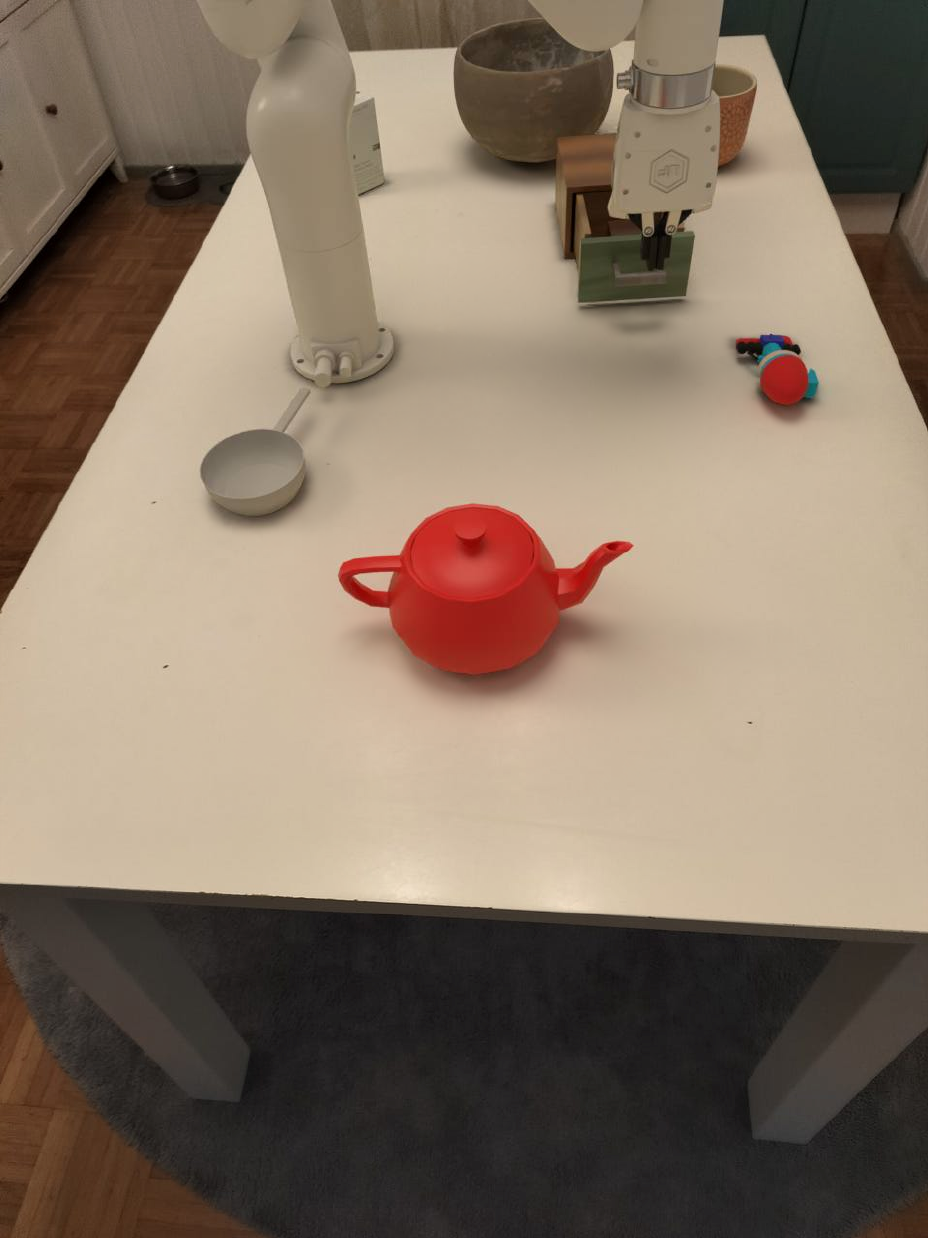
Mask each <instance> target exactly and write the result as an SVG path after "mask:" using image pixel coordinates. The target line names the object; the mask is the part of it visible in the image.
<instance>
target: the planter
mask: <svg viewBox="0 0 928 1238" xmlns="http://www.w3.org/2000/svg"><path fill="white" fill-rule="evenodd" d="M757 88H758V78H757V77H756V76H755V75H754V74H753V73H752V72H750V71H749V70H747V69H745V68H742V67H738V66H735V65H730V64H724V63H723V64H722V63H715V70H714V78H713V85H712V90H713V91H715V93H716V94H717V95H718V96H719V100H720V143H719V157H718V168H720V167H722V166H724V165H726V164H727V163H729V162H731V161H732V160H733V159H734V158H735V157H737V156H738V154H739V153H740V152H741V151H742V149H743V147H744V145H745V142H746V140H747V139H746V138H747V135H748V132H749V126H750V122H751V117H752V114H753V113H752V112H753V108H754V104H755V99H756V95H757Z"/></svg>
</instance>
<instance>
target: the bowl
mask: <svg viewBox="0 0 928 1238" xmlns="http://www.w3.org/2000/svg"><path fill="white" fill-rule="evenodd" d="M614 75H615V69H614V58H613V54H612V50H611V48H610V49H607V50H604V51H597V52H594V51H586V50H583V49H580V48H577V47H576V46H574V45H572V44H570V43H569V42H568V41H566V40H565V39H564V38H563V37H562V36H561V35H560V34H559V33H558V32H557V31H556V30H555V29H554V28H553V27H552V26H551V25H550V24H549V23H548V22H547V21H546V20H545V19H544V18H543V16H541V17H532V18H531V17H530V18H522V19H516V20H515V19H514V20H509V21H504V22H499V23H496V24H492V25H490V26H486V27H485V28H482V29H479V30H477V31H475V32H473V33H472V34H469V35H467V37H465V38H464V39H463V40H462V41H461V42H460V43H459V44H458V46H457V49H456V51H455V54H454V61H453V91H454V99H455V103H456V108H457V112H458V115H459V117H460V120H461V122H462V124H463V126H464V128H465V130H466V131H467V133H468V134H469V135H470V137H471V139H473V140H474V141H475V142H476V143H477V145H478V146H479V147H481V148H482V149H483V150H484V151H486V152H488V153H490V154H492V155H493V156H495V157H497V158H500V159H504V160H507V161H514V162H520V163H521V162H522V163H543V162H549V161H555V160H556V147H557V137H566V136H581V135H595V134H597V132H598V131H599V130H600V127H601V126H602V125H603V122H604V121H605V120H606V117H607V115H608V112H609V109H610V106H611V104H612V103H611V102H612V98H613V91H614V78H615V77H614Z"/></svg>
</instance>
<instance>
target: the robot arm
mask: <svg viewBox="0 0 928 1238" xmlns="http://www.w3.org/2000/svg"><path fill="white" fill-rule="evenodd" d="M724 1H725V0H527V2H528V3H529V4H530V5H531V6H532V7H533V8H534V9H535V10H536V11H537V12H538V13H539V15H541V17H543V18H544V19H545V20H546V21H547V22H548V23H549V24H550V25H551V26H552V27H553V28H554V29H555V30H556V31H557V32H558V33H559V34H560V35H561V36H562V37H563V38H564V39H565V40H566V41H568V42H569V43H570V44H572V45H574V46H576V47H577V48H580V49H583V50H586V51H594V52H597V51H604V50H607V49H610V50H611V49H613V48H614V47H616V46H617V45H619V44H621V43H622V42H623V41H624V40H625V39H627V37H628V36H629V35H630V34H631V32H632V31H633V30H634V28H635V31H634V43H633V45H634V46H633V58H632V59H631V65H630V66H629V68H628V70H627V69H626V70H624V72H623V71H622V72H617V73H616V80H615V81H616V83H615V84H616V89H617V90H622V89H623V90H625V91H628V92H629V93H627V94H626V95H625V96H624V99H623V102H622V105H621V109H620V113H619V118H618V122H617V123H618V124H617V128H616V133H617V134H616V141H615V148H614V156H613V164H612V175H611V187H612V194H611V197H610V201H609V204H608V211H609V215H610V216H611V217H615V218H621V219H630V220H631V221H632V222H633V223H634V224H635V225H636V226H637V227H638V228H639V229H640V230H641V231H642V234H641V246H640V258H641V260H645V261H646V265H647V268H648V271H653V270H654V269H655V267H656V269H658V270H663V268H664V259H665V258H669V257H670V249H671V240H672V234H674V233H675V232H676V230H677V227H678V226H679V225H680V224H681V223H682V222H683V223H684V222H685V221H686V219H688V218H689V217H690V216H691V214H693V215H694V214H698V213H701V212H704V211H707V210H710V209H711V208H712V206H713V200H714V197H715V193H716V188H717V180H718V171H719V170H718V168H719V167H718V157H719V143H720V100H719V96H718V95H717V94H716V93H715V91H713V90H712V85H713V78H714V70H715V64H717V63H716V62H717V61H716V60H717V54H718V46H719V41H720V40H719V39H720V32H721V23H722V16H723V9H724ZM196 2H197V5H198V7H199V9H200V12H201V14H202V16H203V18H204V20H205V22H206V24H207V26H208V28H209V29H210V31H211V32H212V34H213V35H214V37H215V38H216V39H217V41H219V42H220V43H221V45H222V46H223V47H224V48H226V49H227V50H228V51H229V52H231V53H233V54H234V55H236V56H238V57H241V58H243V59H244V58H245V59H251V60H256V62H257V63H258V66H259V69H260V70H261V71H260V73H259V75H258V78H257V80H256V82H255V84H254V87H253V88H252V92H251V93H250V96H249V100H248V105H247V111H246V115H245V116H246V117H245V122H246V123H245V130H246V131H245V132H246V139H247V144H248V149H249V153H250V156H251V159H252V161H253V165H254V166H255V170H256V172H257V175H258V177H259V180H260V183H261V186H262V189H263V193H264V196H265V199H266V203H267V207H268V210H269V215H270V219H271V222H272V227H273V231H274V235H275V239H276V242H277V247H278V251H279V256H280V260H281V263H282V268H283V272H284V277H285V281H286V286H287V290H288V294H289V298H290V302H291V307H292V311H293V316H294V321H295V324H296V328H297V333H298V335H297V336H296V337H295V339H294V340H293V341H292V343H291V346H290V350H289V354H290V359H291V363H292V366H293V368H294V369H295V371H296V372H297V373H298V374H300V375H302V376H303V377H305V378H307V379H309V380H311V381H314V383H315V384H316V386H317V387H320V388H327V387H329V386H330V385H331V384H345V383H351V382H356V381H361V380H363V379H365V378H368V377H370V376H372V375H375V374H376V373H377V372H379V371H380V370H382V369H383V368H384V367H385V366H386V365H387V364H388V363H389V362H390V360H391V359H392V357H393V355H394V352H395V343H394V336H393V334H392V332H391V331H390V329H389V328H388V327H387V326H385V325H384V324H382V323H381V322H379V321H378V316H377V315H378V314H377V309H376V301H375V296H374V289H373V283H372V276H371V268H370V263H369V262H370V261H369V256H368V249H367V243H366V235H365V229H364V222H363V217H362V209H361V204H360V199H359V194H358V192H357V187H356V183H355V179H354V175H353V170H352V167H351V162H350V157H349V150H348V128H349V124H350V120H351V115H352V111H353V108H354V103H355V97H356V91H357V79H356V73H355V68H354V65H353V61H352V58H351V54H350V51H349V48H348V45H347V43H346V40H345V37H344V34H343V32H342V28H341V25H340V22H339V19H338V17H337V14H336V11H335V9H334V6H333V2H332V1H331V0H196ZM653 212H662V216H661V219H660V220H659V222H657V225H656V226H655V223H654V218H653Z"/></svg>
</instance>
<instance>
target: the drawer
mask: <svg viewBox="0 0 928 1238" xmlns="http://www.w3.org/2000/svg"><path fill="white" fill-rule="evenodd" d="M611 194H612V190H607V191H592V192H577V193H576V194H575V219H574V243H573V245H574V251H575V256H576V258H575V261H576V265H577V273H578V275H577V296H576V298H577V299H576V300H577V303H578V304H582V303H583V304H584V303H599V302H600V303H601V302H617V301H631V300H646V299H661V298H662V299H663V298H677V297H678V298H679V297H680V298H681V297H686V296H687V292H688V284H689V279H690V271H691V265H692V259H693V253H694V252H693V251H694V245H695V240H696V239H695V238H696V236H695V233H694V231H693V230H690V231H689V230H688V231H685V230H686V227H685V224H684V221H683V222H682V223H681V224H680V225H679V226H678V227H677V230H676V232H675V233H674V234H672V240H671V249H670V257H669V258H665V259H664V268H663V270H658V269H656V267H655V269H654V270H653V271H648V268H647V265H646V261H645V260H641V258H640V246H641V235H626V236H611V237H607V223H608V221H617V220H630V219H621V218H615V217H611V216H610V215H609V211H608V204H609V201H610V197H611ZM661 216H662V212H653V218H654V223H655V226H656V225H657V222H659V220H660V219H661Z"/></svg>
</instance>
